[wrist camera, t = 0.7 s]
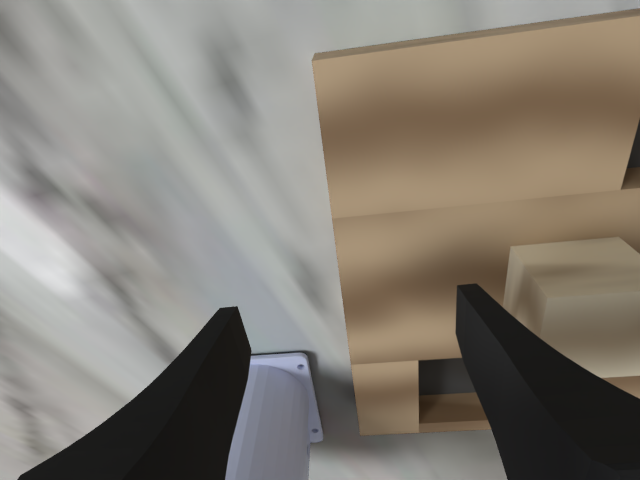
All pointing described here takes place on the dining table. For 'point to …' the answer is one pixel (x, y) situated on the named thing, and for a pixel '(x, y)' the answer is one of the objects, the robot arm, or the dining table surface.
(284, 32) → the dining table surface
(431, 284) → the track
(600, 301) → the block
